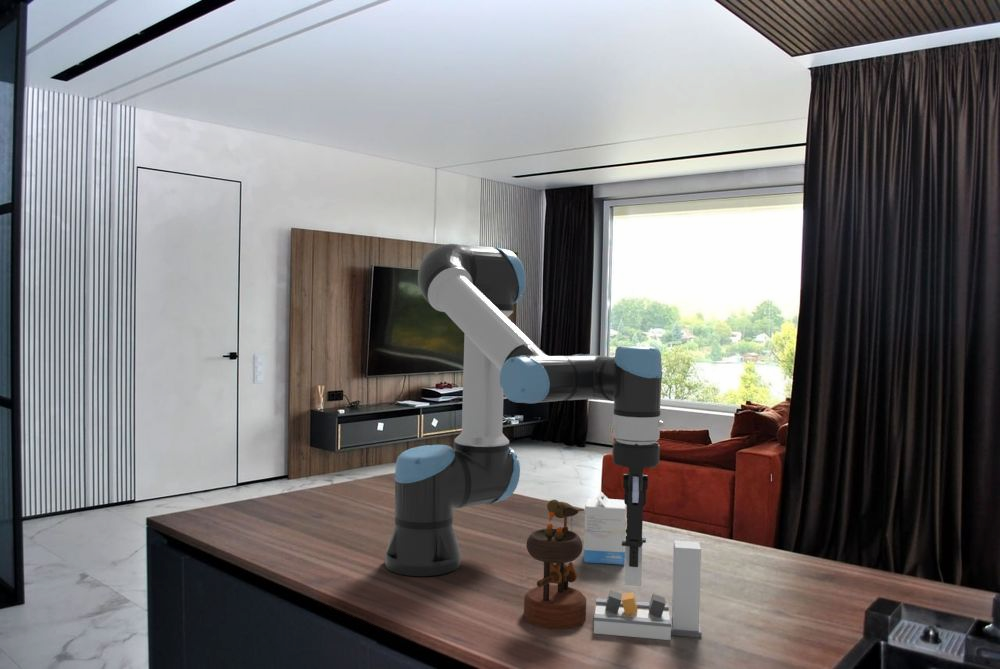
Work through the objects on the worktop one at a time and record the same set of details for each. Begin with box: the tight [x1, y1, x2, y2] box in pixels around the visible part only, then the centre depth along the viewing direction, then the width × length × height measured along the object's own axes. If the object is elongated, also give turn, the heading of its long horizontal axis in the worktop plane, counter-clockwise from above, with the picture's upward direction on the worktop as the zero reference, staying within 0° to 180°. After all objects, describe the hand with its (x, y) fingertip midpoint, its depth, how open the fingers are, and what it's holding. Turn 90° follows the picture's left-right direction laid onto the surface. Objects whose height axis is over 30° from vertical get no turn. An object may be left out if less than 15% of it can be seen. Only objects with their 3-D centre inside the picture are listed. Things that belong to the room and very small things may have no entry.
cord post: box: [670, 539, 703, 639], centre depth 124 cm, size 5×5×14 cm
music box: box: [523, 499, 587, 630], centre depth 128 cm, size 15×11×20 cm
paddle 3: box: [649, 593, 666, 618], centre depth 125 cm, size 2×3×2 cm
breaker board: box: [593, 597, 672, 641], centre depth 126 cm, size 12×9×2 cm
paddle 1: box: [605, 590, 623, 614], centre depth 127 cm, size 2×3×2 cm
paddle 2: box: [621, 591, 638, 615], centre depth 126 cm, size 2×3×2 cm
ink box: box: [583, 490, 627, 566], centre depth 161 cm, size 9×8×13 cm
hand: (632, 583), depth 126 cm, fingers closed
